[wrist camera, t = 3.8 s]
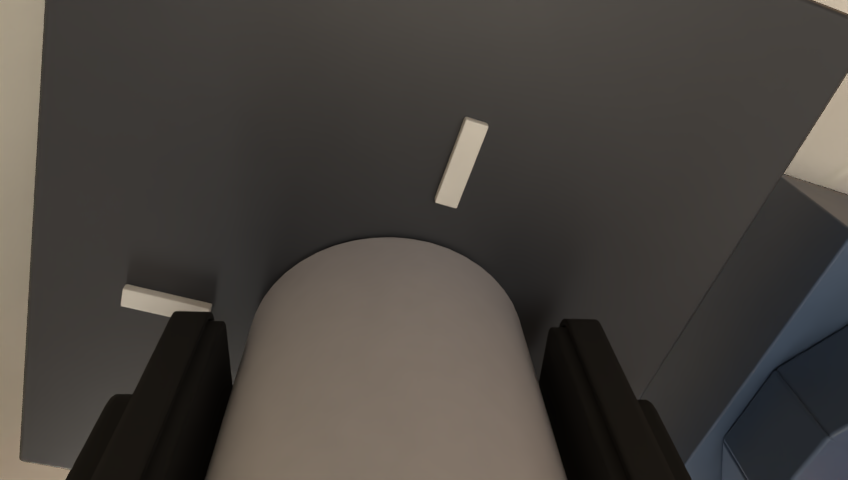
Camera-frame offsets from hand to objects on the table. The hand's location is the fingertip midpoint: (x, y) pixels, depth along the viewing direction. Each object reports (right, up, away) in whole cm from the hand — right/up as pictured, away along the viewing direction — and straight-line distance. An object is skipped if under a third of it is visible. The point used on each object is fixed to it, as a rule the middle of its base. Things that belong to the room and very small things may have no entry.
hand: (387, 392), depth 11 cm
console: (0, +3, +3) cm, 4 cm away
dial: (0, 0, +1) cm, 1 cm away
